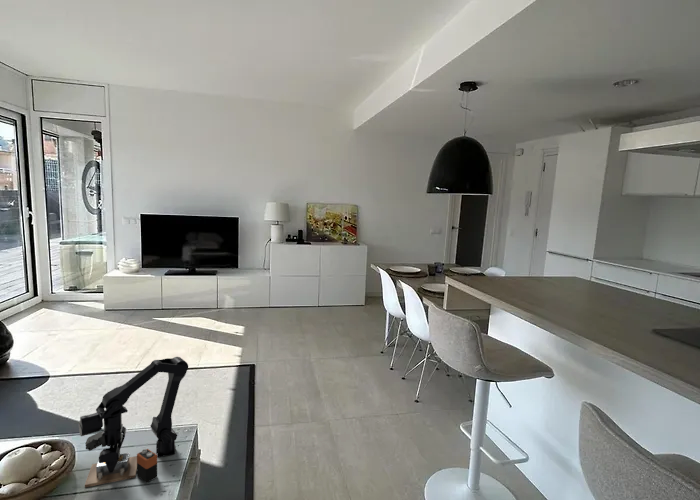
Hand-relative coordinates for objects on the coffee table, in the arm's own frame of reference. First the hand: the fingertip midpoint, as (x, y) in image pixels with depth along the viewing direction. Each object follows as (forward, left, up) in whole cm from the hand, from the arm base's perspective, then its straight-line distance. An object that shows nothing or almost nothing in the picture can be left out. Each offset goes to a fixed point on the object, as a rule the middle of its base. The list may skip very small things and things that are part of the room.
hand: (113, 464), depth 146 cm
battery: (-12, +7, -3) cm, 14 cm away
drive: (0, 0, -2) cm, 2 cm away
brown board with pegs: (0, 0, -3) cm, 3 cm away
